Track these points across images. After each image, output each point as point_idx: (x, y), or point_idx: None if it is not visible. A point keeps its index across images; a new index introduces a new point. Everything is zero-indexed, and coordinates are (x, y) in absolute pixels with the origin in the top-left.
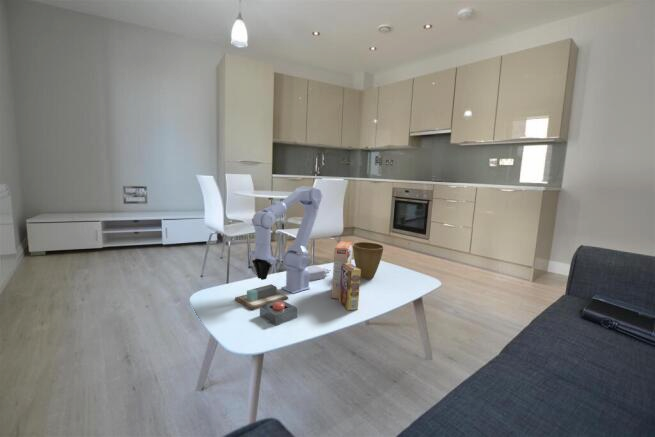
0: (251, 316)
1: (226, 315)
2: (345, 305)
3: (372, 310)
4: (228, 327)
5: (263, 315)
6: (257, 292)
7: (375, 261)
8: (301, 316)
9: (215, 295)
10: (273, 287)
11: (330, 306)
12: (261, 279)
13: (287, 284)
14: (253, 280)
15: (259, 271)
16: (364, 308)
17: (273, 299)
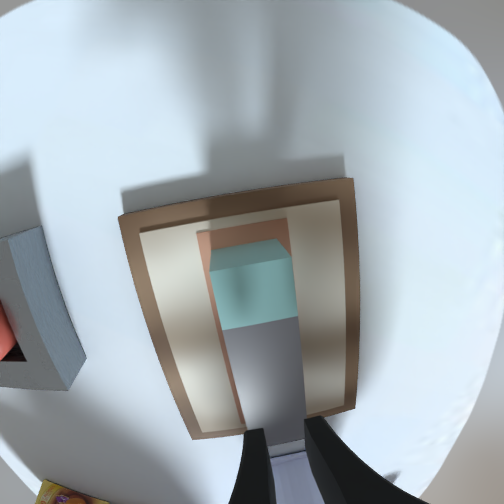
0: (55, 182)
1: (139, 53)
2: (61, 491)
3: None
4: (21, 52)
5: (6, 237)
6: (221, 324)
7: None
8: None
9: (452, 118)
10: None
11: (78, 475)
12: (252, 431)
13: (301, 477)
14: (483, 355)
15: (329, 481)
16: None
17: (181, 378)
